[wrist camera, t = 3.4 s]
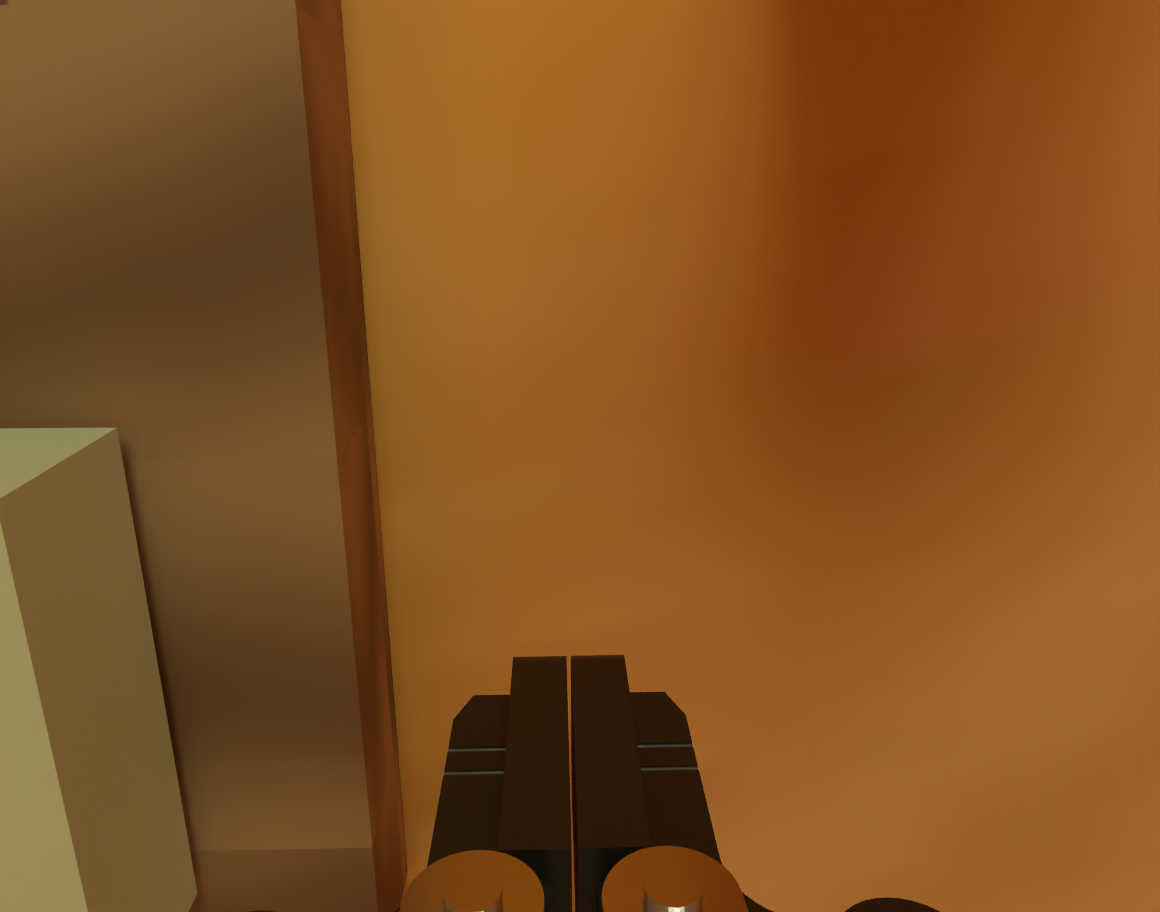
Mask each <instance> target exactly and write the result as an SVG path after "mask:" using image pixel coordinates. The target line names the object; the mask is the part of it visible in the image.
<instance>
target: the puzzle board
mask: <svg viewBox="0 0 1160 912" xmlns="http://www.w3.org/2000/svg"><path fill="white" fill-rule="evenodd" d="M0 428H117V431H118V437H119V442H120V448H121V454H122V460H123V466H124V471H125V477H126V483H127V489H128V494H129V500H130V506H131V512H132V518H133V523H134V529H135V535H136V541H137V547H138V552H139V558H140V564H141V570H142V575H143V581H144V587H145V593H146V599H147V604H148V610H149V616H150V622H151V628H152V633H153V639H154V645H155V651H156V656H157V662H158V668H159V674H160V680H161V685H162V691H163V697H164V703H165V709H166V714H167V720H168V726H169V732H170V738H171V743H172V749H173V755H174V761H175V766H176V772H177V778H178V784H179V790H180V795H181V801H182V807H183V813H184V819H185V824H186V830H187V836H188V842H189V847H190V853H191V859H192V865H193V871H194V876H195V882H196V888H197V895H196V898H195V900H194V902H193V904H192V906H191V908H190V910H189V912H248V911H257V910H260V911H274V912H394V911H395V910H397V909H398V908H399V906H400V901H401V897H402V892H403V887H404V882H405V877H406V872H407V865H406V852H405V839H404V826H403V813H402V800H401V787H400V774H399V761H398V748H397V735H396V722H395V709H394V696H393V683H392V670H391V657H390V643H389V630H388V617H387V604H386V591H385V578H384V565H383V552H382V539H381V526H380V513H379V500H378V487H377V474H376V461H375V448H374V435H373V421H372V408H371V395H370V382H369V369H368V356H367V343H366V330H365V317H364V304H363V291H362V278H361V265H360V252H359V239H358V226H357V213H356V200H355V186H354V173H353V160H352V147H351V134H350V121H349V108H348V95H347V82H346V69H345V56H344V43H343V30H342V17H341V4H340V0H0Z"/></svg>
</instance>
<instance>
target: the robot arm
mask: <svg viewBox="0 0 1160 912" xmlns="http://www.w3.org/2000/svg"><path fill="white" fill-rule="evenodd" d="M571 765H572V813H573V847H574V880H575V912H773V911H771V910H768V909H766V908H764V907H763V906H761V905H759V904H757V903H756V902H754V901H753V900H752V899H750V898H749V897H748V896H746V895H745V894H744V893H743V892H742V891H741V889H740V887H739V885H738V883H737V881H736V880H735V878H734V877H733V876H732V874H731V873H730V872H729V871H728V870H727V869H726V868H725V867H724V866H723V865H722V863H721V860H720V857H719V853H718V848H717V844H716V840H715V836H714V832H713V827H712V823H711V819H710V815H709V811H708V807H707V802H706V798H705V794H704V790H703V786H702V782H701V777H700V773H699V771H698V767H697V761H696V757H695V752H694V748H692V740H691V736H690V731H689V727H688V723H687V719H686V715H685V714H684V713H683V712H682V711H681V709H680V708H679V707H678V706H677V705H676V704H675V703H674V702H673V701H672V700H671V699H670V697H669V696H668V695H667V694H666V693H665V692H629V685H628V678H627V671H626V664H625V658H624V655H596V656H571ZM248 912H274V911H260V910H257V911H248ZM394 912H572V866H571V815H570V777H569V739H568V701H567V663H566V656H548V657H514V658H513V666H512V678H511V690H510V695H474V696H473V697H472V698H471V699H470V701H469V702H468V703H467V704H466V705H465V706H464V708H463V709H462V710H461V711H460V712H459V714H458V715H457V716H456V717H455V718H454V720H453V726H452V731H451V737H450V742H449V753H448V754H447V759H446V765H445V774H444V776H443V781H442V787H441V793H440V798H439V804H438V809H437V815H436V820H435V826H434V832H433V837H432V843H431V848H430V854H429V860H428V865H427V868H426V869H424V870H423V871H422V872H421V873H420V874H419V875H418V876H417V877H416V878H415V879H414V880H413V881H412V883H411V884H410V886H409V887H408V889H407V890H406V893H405V895H404V898H403V900H402V903H401V906H400V907H399V908H398V909H397V910H395V911H394ZM845 912H940V911H938V910H935V909H933V908H931V907H929V906H926V905H923V904H920V903H917V902H914V901H910V900H905V899H900V898H874V899H870V900H865V901H862V902H860V903H858V904H855V905H853V906H852V907H851V908H849V909H848V910H846V911H845Z"/></svg>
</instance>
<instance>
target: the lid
mask: <svg viewBox="0 0 1160 912" xmlns="http://www.w3.org/2000/svg"><path fill="white" fill-rule="evenodd" d="M196 895H197V888H196V882H195V876H194V871H193V865H192V859H191V853H190V847H189V842H188V836H187V830H186V824H185V819H184V813H183V807H182V801H181V795H180V790H179V784H178V778H177V772H176V766H175V761H174V755H173V749H172V743H171V738H170V732H169V726H168V720H167V714H166V709H165V703H164V697H163V691H162V685H161V680H160V674H159V668H158V662H157V656H156V651H155V645H154V639H153V633H152V628H151V622H150V616H149V610H148V604H147V599H146V593H145V587H144V581H143V575H142V570H141V564H140V558H139V552H138V547H137V541H136V535H135V529H134V523H133V518H132V512H131V506H130V500H129V494H128V489H127V483H126V477H125V471H124V466H123V460H122V454H121V448H120V442H119V437H118V431H117V428H0V912H189V910H190V908H191V906H192V904H193V902H194V900H195V898H196Z"/></svg>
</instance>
